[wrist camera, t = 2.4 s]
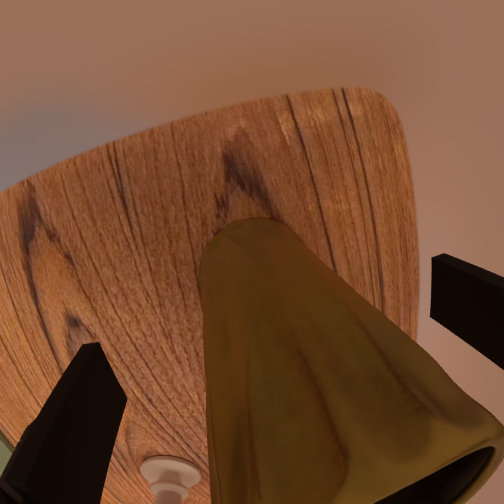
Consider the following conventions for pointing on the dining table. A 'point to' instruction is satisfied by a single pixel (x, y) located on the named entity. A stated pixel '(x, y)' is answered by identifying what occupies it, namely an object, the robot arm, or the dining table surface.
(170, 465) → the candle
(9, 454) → the mat
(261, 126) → the dining table surface
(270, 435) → the fluted gold cylinder
